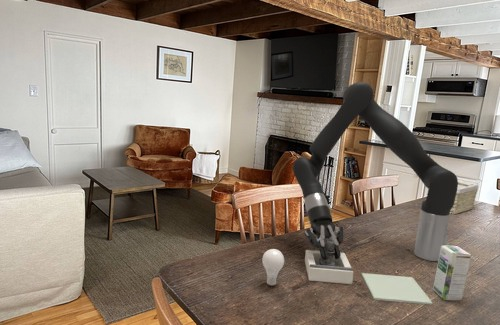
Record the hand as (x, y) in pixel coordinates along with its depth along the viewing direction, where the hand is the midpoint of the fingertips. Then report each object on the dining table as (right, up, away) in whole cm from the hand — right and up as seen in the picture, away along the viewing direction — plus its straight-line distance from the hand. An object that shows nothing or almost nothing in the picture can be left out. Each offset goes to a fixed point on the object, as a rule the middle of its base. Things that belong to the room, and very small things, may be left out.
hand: (332, 258), depth 109 cm
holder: (-1, -5, +3) cm, 6 cm away
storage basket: (+85, +5, +84) cm, 120 cm away
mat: (+18, -8, -5) cm, 20 cm away
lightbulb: (-20, -6, -7) cm, 22 cm away
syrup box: (+32, -9, -7) cm, 34 cm away
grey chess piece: (-1, -5, +3) cm, 6 cm away
